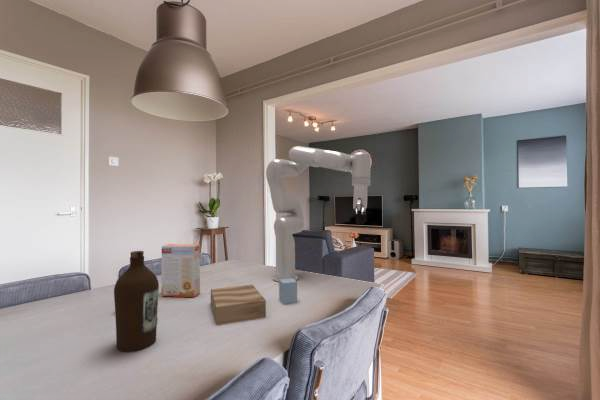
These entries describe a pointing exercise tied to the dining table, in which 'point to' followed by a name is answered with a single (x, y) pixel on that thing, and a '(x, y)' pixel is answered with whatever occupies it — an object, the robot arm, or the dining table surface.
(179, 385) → the dining table surface
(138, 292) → the olive oil
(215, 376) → the dining table surface
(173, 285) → the cracker box
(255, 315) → the riser block
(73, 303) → the dining table surface
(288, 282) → the blue block
